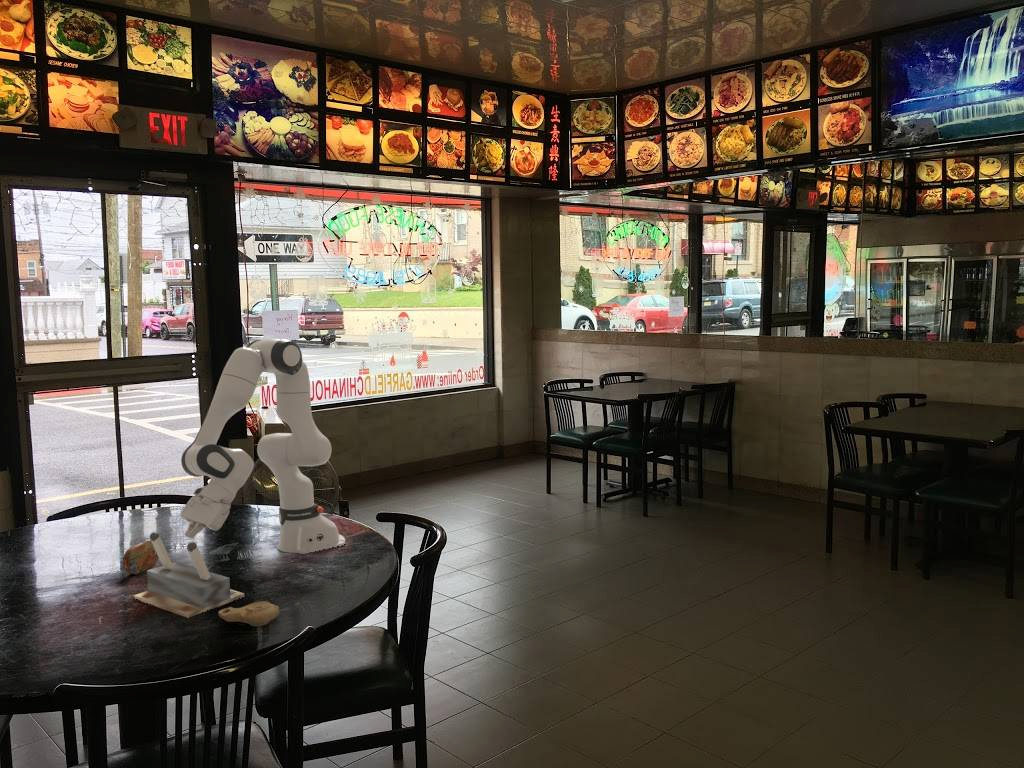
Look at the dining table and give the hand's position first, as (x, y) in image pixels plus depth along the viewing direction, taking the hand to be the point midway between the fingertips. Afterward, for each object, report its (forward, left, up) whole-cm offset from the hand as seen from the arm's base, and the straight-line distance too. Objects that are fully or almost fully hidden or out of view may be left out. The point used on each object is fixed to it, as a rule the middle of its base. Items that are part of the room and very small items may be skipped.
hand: (188, 537), depth 248 cm
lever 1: (+6, +5, -7) cm, 11 cm away
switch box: (+2, +13, -14) cm, 19 cm away
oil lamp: (-12, +41, -14) cm, 45 cm away
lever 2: (-3, +21, -7) cm, 22 cm away
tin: (+13, -20, -14) cm, 28 cm away
